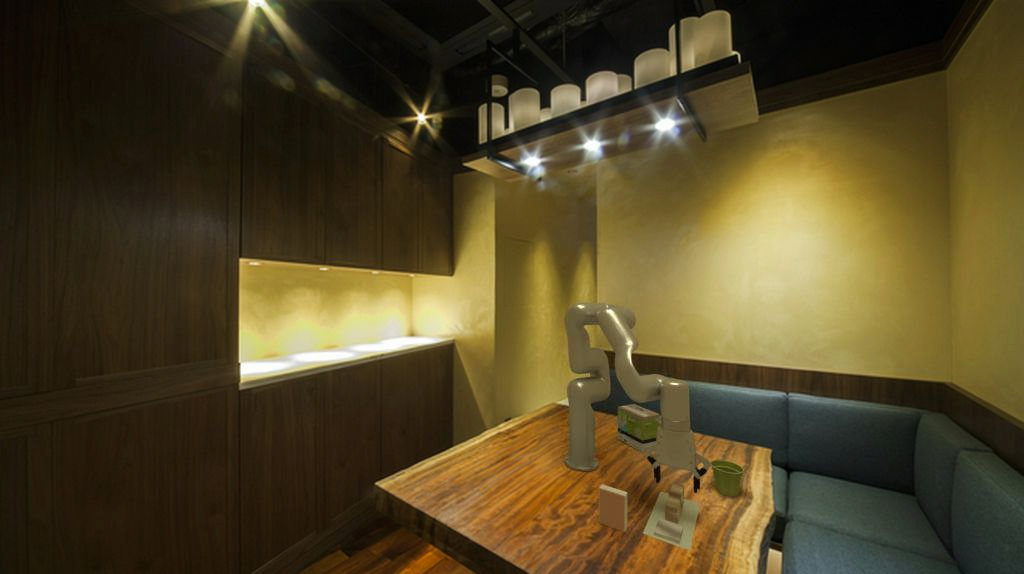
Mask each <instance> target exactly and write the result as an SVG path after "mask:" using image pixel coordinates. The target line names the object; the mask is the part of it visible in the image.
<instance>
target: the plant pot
mask: <svg viewBox="0 0 1024 574" xmlns="http://www.w3.org/2000/svg"><path fill="white" fill-rule="evenodd" d="M709 461H710V460H709ZM710 462H711V466H710V467H711V470H712V473H713V480H714V485H715V486H714V487H715V490H716V492H717V493H719V494H720V495H721V494H722V495H724V496H727V497H732V498H733V497H738V496H739V494H740V488H741V487H740V486H741V480H742V477H743V474H744V473H745V469H744V468H743V466H741V465H739V464H738V463H736V462H733V461H730V460H729V461H728V460H724V459H712V460H711V461H710Z"/></svg>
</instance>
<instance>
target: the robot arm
mask: <svg viewBox="0 0 1024 574" xmlns="http://www.w3.org/2000/svg"><path fill="white" fill-rule="evenodd" d="M563 320H564V321H563V323H564V328H565V332H566V337H567V339H566V340H567V353H568V363H569V364H568V365H569V369H570V371H571V372H572V373H573V374H576V375H583V374H584V375H585V374H586V375H587V374H589V376H583V377H577V378H574V379H572V380H570V381H569V382H568V384H567V387H566V397H567V401H568V413H569V414H568V417H569V418H568V419H569V420H568V421H569V422H568V454H567V455H565V457H564V464H565V465H566V466H567V467H568V468H571V469H572V470H576V471H580V472H592V471H594V470H597V469H598V468H599V466H600V462H599V459H597V458H596V456H595V455H596V454H595V453H596V452H595V451H596V449H597V448H596V445H595V443H596V441H595V440H596V435H595V434H596V417H595V416H596V414H595V412H594V410H593V407H592V405H591V404H593V403H598V402H602V401H605V400H608V398H609V396H610V393H611V376H610V368H609V367H610V365H609V359H608V356H607V354H606V352H605V351H604V350H603V349H602V348H599V347H591V338H590V334H589V332H588V330H587V329H586V327H585V326H599V328H600V330H601V332H602V333H603V335H604V336H605V338H606V340H607V341H608V343H609V345H610V347H611V348H612V350H613V351H614V354H615V357H614V368H615V369H614V371H615V375H616V378H617V379H618V382H619V383H620V385H621V387H622V389H623V391H624V392H625V394H626V395H627V396H628V397H629V398H630V399H631V400H632V401H633V402H636V403H639V404H643V403H649V402H652V401H659V400H660V417H656V419H655V420H656V422H659V423H660V426H659V427H658V430H657V437H656V445H654V446H651V447H647V448H645V449H644V455H645V457H646V459H647V461H648V463H650V464H651V466H652V468H653V478H654V479H655V483H656V484H659V483H660V482H661V480H662V479H661V478H662V476H661V474H662V473H661V472H662V471H661V468H662V467H661V465H662V466H665V467H671V468H674V469H678V470H682V471H683V470H684V471H686V472H687V471H688V472H691V473H692V474H693V478H692V479H693V481H692V482H693V493H694V494H697V493H698V490H699V491H700V490H701V477H703V476H704V475H706V474H707V472H708V471H709V470H710V467H712V466H711V462H710V460H708V459H706V458H705V457H704V456H702V455H700V453H698V452H697V451H696V441H695V440H696V439H695V437H694V432H693V430H692V429H691V419H690V417H691V416H690V386H689V383H688V382H686V381H685V380H683V379H678V378H677V379H676V378H669V377H668V376H665V375H662V374H658V373H651V374H645V375H640V374H639V373H638V370H636V368H635V366H634V364H633V359H632V354H633V353H634V352H635V351H636V350H637V349H638V348H639V346H640V341H639V340H638V338H637V337H636V335H635V333H634V332H633V329H634V328H635V326H636V323H637V318H636V316H635V313H634V311H632V310H631V308H628V307H625V306H620V305H615V304H610V303H605V302H577V303H576V302H575V303H573V304H571V305H570V306H568V308H567V309H566V310H565V313H564V318H563ZM652 452H655V457H654V456H653V455H652ZM697 461H698V462H699V463H701V464H702V465H703V466H702V467H701V468H700V469H699V468H698V466H697Z"/></svg>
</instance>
